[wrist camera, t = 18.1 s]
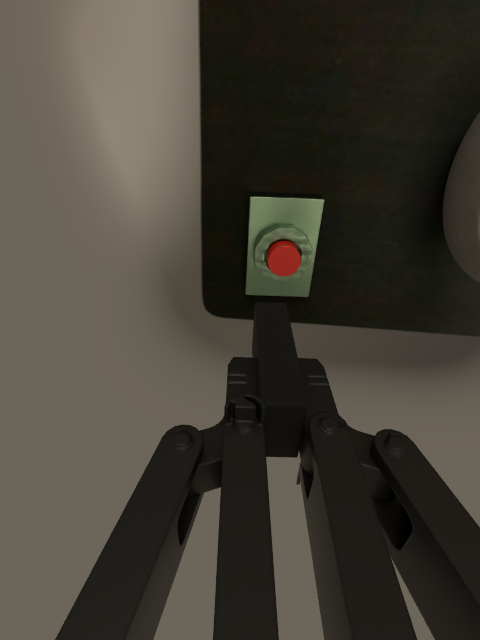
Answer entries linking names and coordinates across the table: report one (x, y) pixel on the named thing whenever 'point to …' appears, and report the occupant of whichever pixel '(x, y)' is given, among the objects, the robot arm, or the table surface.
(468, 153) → the planter
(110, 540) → the robot arm
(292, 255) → the button
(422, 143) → the table surface
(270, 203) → the button block
